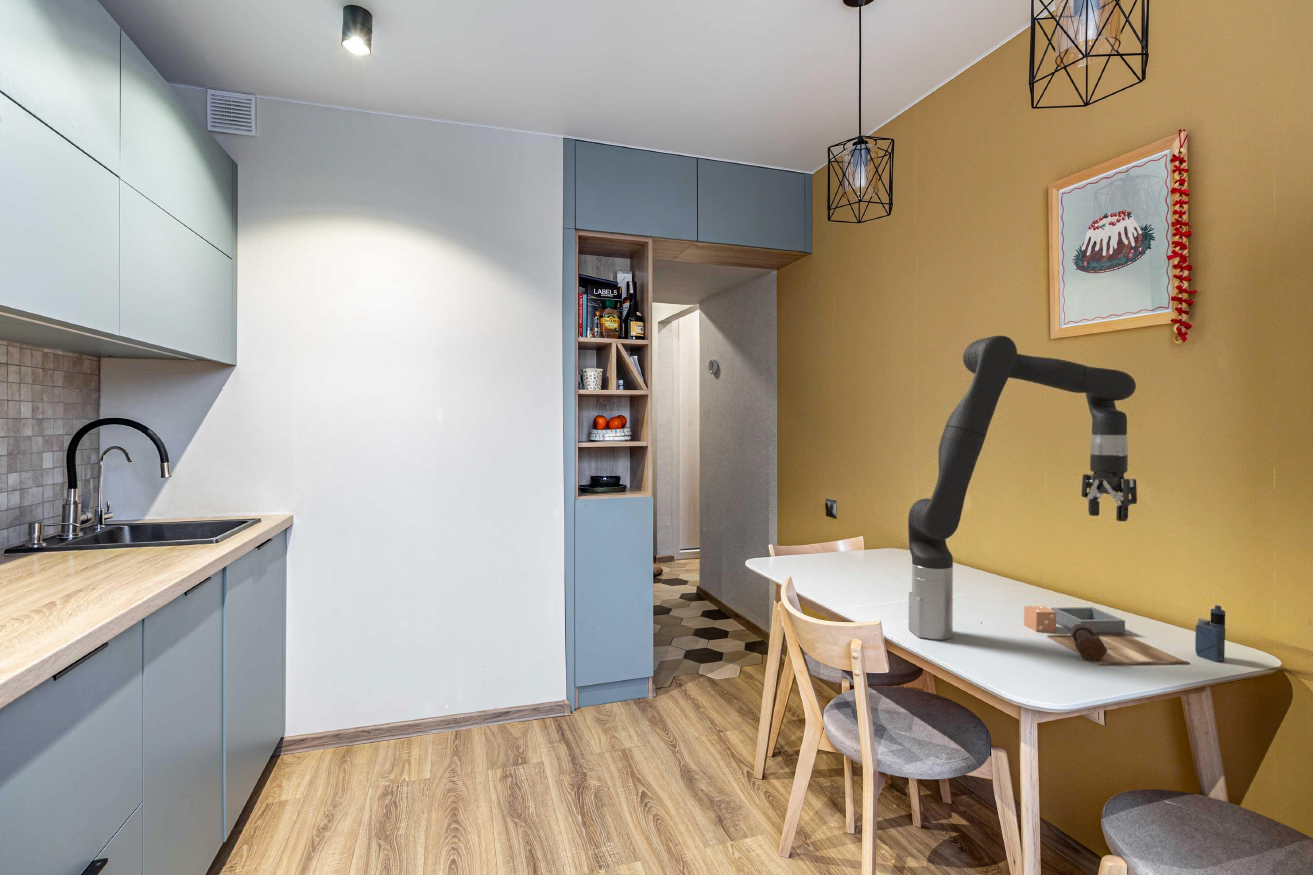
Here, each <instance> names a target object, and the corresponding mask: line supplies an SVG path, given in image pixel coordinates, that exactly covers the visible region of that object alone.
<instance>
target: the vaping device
mask: <svg viewBox="0 0 1313 875" xmlns="http://www.w3.org/2000/svg"><path fill="white" fill-rule="evenodd" d="M1225 641H1226V611H1225V610H1223V609H1222V606H1221V605H1219V604H1218V605H1217V604H1215V605H1214V608H1210V620H1209V619H1207V618H1198V622H1197V623H1196V625H1195V641H1194V642H1195V647H1194V648H1195V650H1194V651H1195V653H1196V656H1197V657H1200V658H1202V657H1203V658H1202V659H1205V658H1206V660H1208V659H1209V660H1208V661H1212V660H1213V661H1212V662H1216V661H1217V662H1216V663H1223V662H1225V655H1226V654H1225V653H1226V652H1225V643H1226V642H1225ZM1222 661H1223V662H1222Z"/></svg>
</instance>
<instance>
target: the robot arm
mask: <svg viewBox="0 0 1313 875" xmlns="http://www.w3.org/2000/svg"><path fill="white" fill-rule="evenodd" d="M962 355H963V356H962V361H963V365H964V366H965V369H967V370H968V371H969V372H970V373H972V374H974V376H973V378H972V379H973V380H972V382H971V384H970V387H969V389H968V390H967V392H966V394H965V395H964V396H963V398H962V399H961V400H960V402H959V403H958V405H956V407H955V408H954V410H953V411H952V412H951V414H950V415H949V416H948V419H947V421H946V423H945V426H944V429H943V432H942V434H941V437H940V441H939V444H938V459H937V460H938V476H937V481H936V484H935V487H934V490H933V493H932V495H931V497H930V498H921V499H919V500H916V501H915V502H914V503H913V504H912V505H911V507H910V509H909V512H908V524H907V529H908V547H909V552H910V555H911V591H910V592H909V593H908V631H910V632H911V633H913V634H914V635H915V636H916V637H918V638H921V639H923V638H924V639H930V640H942V641H943V640H948V639H951V638H952V637H953V632H954V630H953V629H954V627H953V619H954V617H953V614H954V612H953V610H954V609H953V608H954V607H953V606H954V605H953V604H954V601H953V600H954V598H953V597H954V596H953V595H954V594H953V592H954V590H953V589H954V586H953V585H954V583H953V582H954V580H953V579H954V557H953V554H952V552H951V551H950V549H949V548H948V546H947V541H946V540H947V539H949V538H951V536H953V535H954V533H956V531H957V530H958V527H959V524H960V521H961V516H962V512H963V509H964V504H965V499H966V495H967V491H968V487H969V485H970V482H971V480H972V479H971V478H972V476H973V473H974V470H975V467H976V464H977V461H978V459H979V456H980V453H981V452H982V448H983V446H984V443H985V440H986V437H987V433H988V430H989V427H990V424H991V421H992V419H993V416H994V414H995V411H996V408H997V405H998V402H999V399H1000V397H1001V395H1002V392H1003V390H1004V388H1005V386H1006V384H1007V382H1008V379H1010V378H1011V379H1016V380H1021V381H1025V382H1031V383H1034V384H1039V385H1042V386H1047V387H1050V388H1054V389H1059V390H1061V391H1066V392H1069V393H1076V394H1085V397H1086V401H1087V405H1088V409H1089V412H1090V413H1089V414H1090V415H1091V419H1092V421H1091V438H1090V446H1089V447H1090V448H1089V450H1090V451H1089V452H1090V453H1089V454H1090V455H1089V456H1090V457H1089V458H1090V459H1089V460H1090V461H1089V470H1090V471H1091V472H1093V473H1092V474H1090V473H1087V474H1085V473H1084V474H1083V475H1082V479H1081V480H1082V482H1081V497H1082V498H1085V499H1086V500H1087V501H1088V508H1087V509H1088V510H1087V511H1088V515H1089V516H1092V517H1097V516H1099V515H1100V501H1099V500H1100V499H1101V498H1102V496H1103V495H1110V497H1111V498H1112V499H1114V501H1115V503H1116V504H1117V505H1116V513H1115V514H1116V517H1115V518H1116V521H1117V522H1127V521H1128V519H1129V506H1131V505H1136V504H1137V503H1138V494H1137V493H1138V492H1137V491H1138V489H1137V487H1138V486H1137V480H1136V478H1125V474H1126V473H1128V465H1129V461H1128V460H1129V459H1128V456H1129V441H1128V417H1127V416H1128V415H1127V414H1126V413H1125V412H1123V411H1121V410H1119V409H1117V406H1116V401H1117V402H1118V401H1123V400H1127V399H1128V398H1130V397H1131V396H1132V395H1133V394H1134V393H1135V391H1136V388H1137V385H1136V384H1137V383H1136V380H1135V378H1134V377H1132V376H1131V375H1130V374H1129V373H1127V372H1124V371H1122V370H1119V369H1118V370H1117V369H1110V368H1103V367H1094V366H1087V365H1084V364H1082V363H1077V362H1072V361H1069V360H1065V359H1059V358H1054V357H1053V358H1052V357H1042V356H1033V355H1026V354H1021V353H1018V349H1017V345H1016V343H1015V342H1014V341H1013V339H1011V338H1010V337H1008V336H1006V335H994V336H993V335H992V336H989V337H985V338H980V339H976V340H975V341H973V342H971V343H970V344H969V345H967V346H966V348H965V349H964V351H963V354H962Z"/></svg>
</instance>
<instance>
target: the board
mask: <svg viewBox="0 0 1313 875" xmlns="http://www.w3.org/2000/svg"><path fill="white" fill-rule="evenodd" d="M1095 636H1098V637H1099V638H1100V640H1101V641H1102V643H1103V644H1104V646H1105V647H1106V649H1107V652H1106V654H1105V655H1104V656H1103V658H1102V659H1101V660H1100V661H1093V660H1090V661H1091V662H1093V663H1094V664H1097V665H1099V666H1140V665H1141V666H1143V665H1144V666H1146V665H1147V666H1152V665H1156V666H1157V665H1161V666H1162V665H1190V664H1191V663H1190V661H1187V660H1183V659H1181V658H1178V657H1177V656H1174V655H1172V654H1170V653H1168V652H1165V651H1163V650H1161V649H1158V648H1156V647H1154V646H1152V645H1149V644H1147V643H1145V642H1142V641H1140V640H1139V639H1137V638H1136V639H1135V638H1133V637H1132V636H1129V634H1126V633H1125V634H1101V635H1095ZM1046 637H1047V638H1048V639H1049V640H1052V641H1054V642H1056V643H1058V644H1060V645H1062V646H1064V647H1065V648H1067V649H1069V650H1071V651H1072V652H1074V653H1075V654H1079V655H1080V656H1081V654H1080V653H1079V651H1078V650H1077V648H1076V646H1075V644H1076V642H1075V640H1074V639H1073V637H1072V636H1071V634H1047V635H1046Z"/></svg>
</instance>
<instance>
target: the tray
mask: <svg viewBox="0 0 1313 875" xmlns="http://www.w3.org/2000/svg"><path fill="white" fill-rule="evenodd" d="M1050 609H1051V610H1053V611H1055V612H1056V625H1059V626H1061V627H1062V628H1064V629H1067V630H1069V631H1070V632H1071V631H1072V628H1073V627H1074V625H1076V624H1080V625H1085V626H1089V627H1090V628H1091V630H1092V631H1093V633H1094V634H1095V635H1101V634H1126V620H1125V619H1122V618H1120V617H1118V616H1115V615H1113V614H1110V613H1108V612H1105V611H1103V610H1100V609H1097V608H1096V607H1093V606H1081V607H1080V606H1077V607H1072V606H1071V607H1051V608H1050Z"/></svg>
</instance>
